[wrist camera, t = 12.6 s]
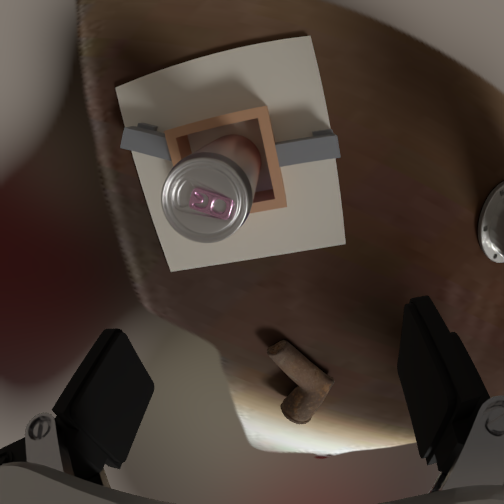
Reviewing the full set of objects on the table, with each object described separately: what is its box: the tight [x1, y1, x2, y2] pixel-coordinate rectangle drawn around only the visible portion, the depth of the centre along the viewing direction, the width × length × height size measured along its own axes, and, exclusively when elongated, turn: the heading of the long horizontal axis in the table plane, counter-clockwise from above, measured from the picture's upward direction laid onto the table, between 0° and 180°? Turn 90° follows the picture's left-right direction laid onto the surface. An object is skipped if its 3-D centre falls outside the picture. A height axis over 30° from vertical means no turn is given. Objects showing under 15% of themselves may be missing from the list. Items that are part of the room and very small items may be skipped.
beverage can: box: [161, 134, 261, 243], centre depth 26 cm, size 6×6×15 cm
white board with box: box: [115, 36, 346, 272], centre depth 31 cm, size 22×24×5 cm
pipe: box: [267, 340, 334, 424], centre depth 45 cm, size 6×17×10 cm
